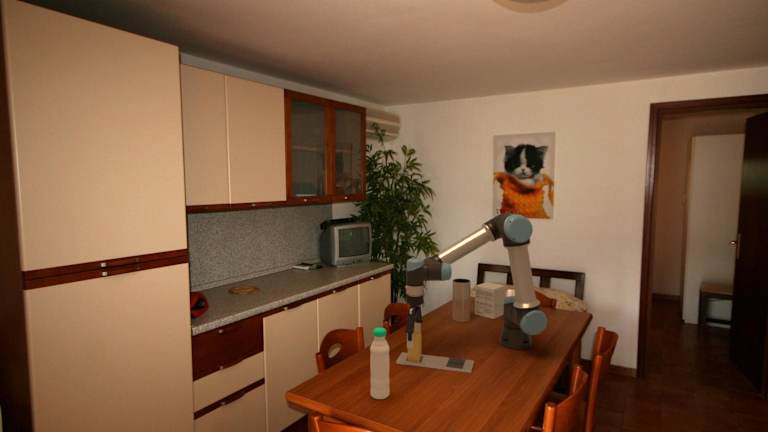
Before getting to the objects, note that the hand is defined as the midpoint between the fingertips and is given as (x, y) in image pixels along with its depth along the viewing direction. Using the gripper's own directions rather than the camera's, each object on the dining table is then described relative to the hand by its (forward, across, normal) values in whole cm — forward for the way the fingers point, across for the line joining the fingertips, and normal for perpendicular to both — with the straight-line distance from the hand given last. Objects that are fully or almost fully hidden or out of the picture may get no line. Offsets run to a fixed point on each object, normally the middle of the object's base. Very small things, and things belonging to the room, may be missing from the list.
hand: (414, 342), depth 191 cm
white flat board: (+8, 0, +9) cm, 13 cm away
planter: (+8, -64, +12) cm, 66 cm away
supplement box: (+8, -79, +27) cm, 84 cm away
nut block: (+8, 0, 0) cm, 8 cm away
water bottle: (+9, +34, -5) cm, 35 cm away
